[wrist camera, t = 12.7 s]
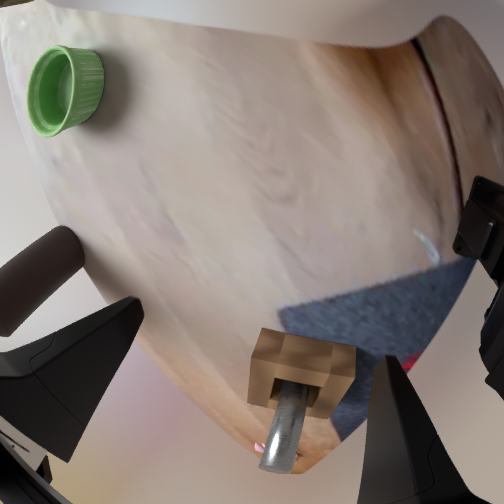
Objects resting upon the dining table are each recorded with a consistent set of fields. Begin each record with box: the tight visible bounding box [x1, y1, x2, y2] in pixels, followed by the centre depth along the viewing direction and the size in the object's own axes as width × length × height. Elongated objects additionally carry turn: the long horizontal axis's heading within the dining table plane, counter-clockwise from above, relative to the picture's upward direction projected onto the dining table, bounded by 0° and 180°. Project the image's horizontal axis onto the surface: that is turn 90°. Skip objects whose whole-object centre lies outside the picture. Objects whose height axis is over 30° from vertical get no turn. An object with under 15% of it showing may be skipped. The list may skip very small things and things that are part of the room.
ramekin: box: [27, 45, 104, 137], centre depth 17 cm, size 9×9×4 cm
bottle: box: [0, 226, 84, 337], centre depth 23 cm, size 7×7×20 cm
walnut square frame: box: [247, 328, 356, 419], centre depth 27 cm, size 10×10×4 cm
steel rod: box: [259, 380, 311, 474], centre depth 24 cm, size 3×3×13 cm
